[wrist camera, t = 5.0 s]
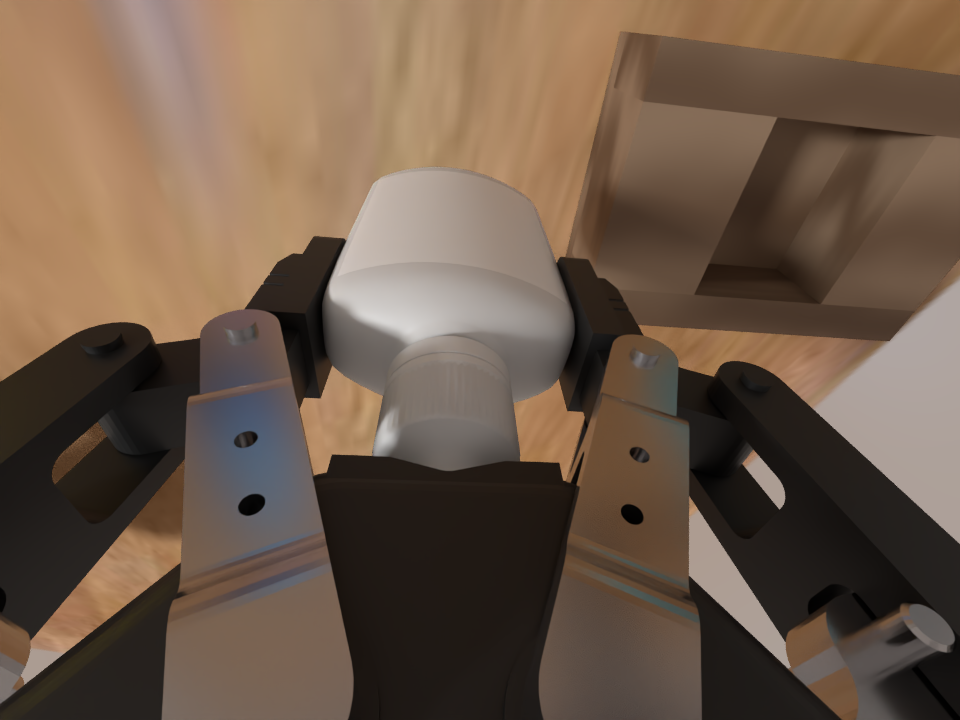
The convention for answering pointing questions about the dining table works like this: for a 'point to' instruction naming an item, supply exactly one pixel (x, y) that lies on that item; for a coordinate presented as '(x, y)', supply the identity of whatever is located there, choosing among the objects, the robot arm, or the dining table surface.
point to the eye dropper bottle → (447, 314)
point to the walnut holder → (770, 189)
